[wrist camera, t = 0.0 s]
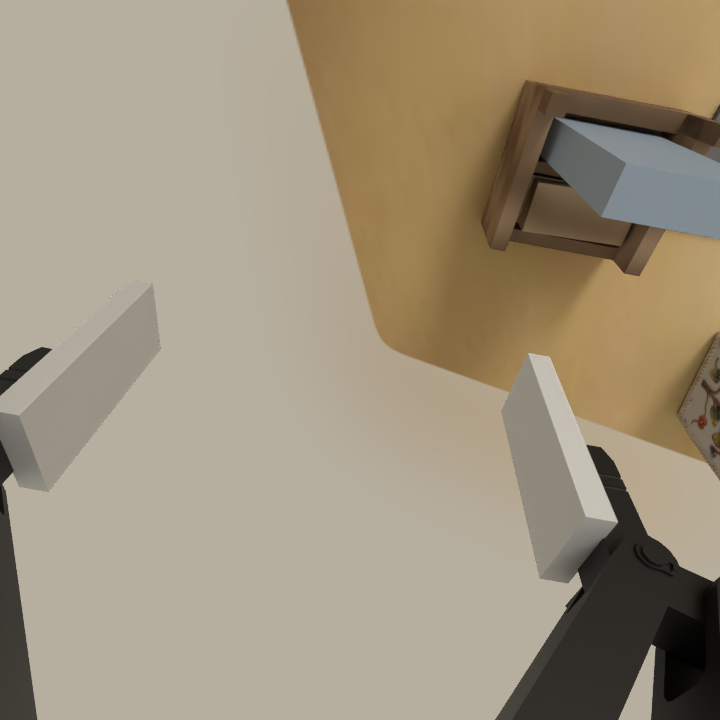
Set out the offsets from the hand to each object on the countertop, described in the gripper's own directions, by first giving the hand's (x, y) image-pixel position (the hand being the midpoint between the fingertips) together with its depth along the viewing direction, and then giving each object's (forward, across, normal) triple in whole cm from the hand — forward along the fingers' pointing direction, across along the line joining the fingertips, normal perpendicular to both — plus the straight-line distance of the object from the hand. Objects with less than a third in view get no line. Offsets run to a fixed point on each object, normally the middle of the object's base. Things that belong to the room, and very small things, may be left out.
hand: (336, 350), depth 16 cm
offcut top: (+25, +16, 0) cm, 30 cm away
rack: (+28, +16, +2) cm, 32 cm away
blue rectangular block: (+27, +16, +5) cm, 31 cm away
